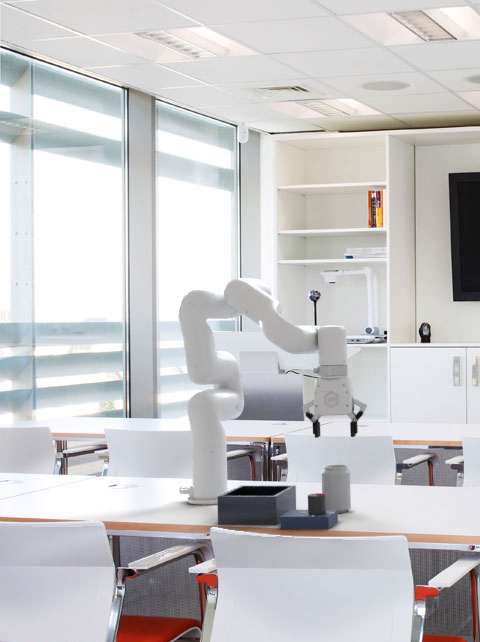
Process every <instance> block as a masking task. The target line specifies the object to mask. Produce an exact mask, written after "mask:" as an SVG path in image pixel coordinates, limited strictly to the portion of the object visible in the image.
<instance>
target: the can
mask: <svg viewBox="0 0 480 642" xmlns="http://www.w3.org/2000/svg"><path fill="white" fill-rule="evenodd" d="M348 467H349V466H348V465H346V464H330V465H325V466H323V468H324V469H323V470H322V471H321V493H326V510H338V514H341V513H346V512H348V511H349V510H350V509H351V508H352V506H351V505H352V503H351V501H352V500H351V470H349V469H348Z"/></svg>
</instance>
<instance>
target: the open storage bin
mask: <svg viewBox="0 0 480 642" xmlns="http://www.w3.org/2000/svg"><path fill="white" fill-rule="evenodd" d="M217 500H218V504H217V525H230V526H231V525H233V526H234V525H236V526H237V525H241V526H243V525H245V526H249V525H251V526H252V525H253V526H254V525H255V526H276V525H279V524H280V516H282V515H284V514H285V513H287V512H288V511H290V510H297V485H244V484H243V485H239V486H237V487H235V488H233V489H231V490H228V492H226V493H224V494H222V495H220V496H218V497H217Z"/></svg>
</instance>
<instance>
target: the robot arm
mask: <svg viewBox="0 0 480 642" xmlns="http://www.w3.org/2000/svg"><path fill="white" fill-rule="evenodd" d="M282 310H283V305H282V303H281V302H280V300H278V299H277V298H275V297H274V296H272V290H271V288H270V286H269V284H268V283H267V282H265V281H264V280H262V279H259V278H249V277H247V278H246V277H245V278H244V277H238V278H233V279H231V280H229V281H228V282H227V283H226V284H225V286H224V288H196V289H193V290H189V291H188V292H187V293H186V294H184V295H183V296H182V298H181V299H180V302H179V304H178V308H177V319H178V324H179V329H180V331H181V336H182V341H183V350H184V356H185V357H184V358H185V364H186V370H187V375H188V378H189V380H190V381H191V383H192V384H195V385H198V386H207V385H213V388H207V389H202V390H198V391H196V392H194V393H193V394H192V395H190V396H189V399H188V401H187V404H186V407H187V408H186V411H187V417H188V421H189V426H190V433H191V434H190V436H191V468H192V470H191V471H192V472H191V473H192V475H191V476H192V485H190V486H180V487H179V490H178V491H179V494H180V495H188V497H187V499H186V501H187V503H188V504H191V505H218V500H217V497H218V496H220V495H222V494H224V493H226V492H228V491H229V490H228V447H227V435H226V432H225V431H226V430H225V429H224V426H223V424H222V422H228V421H232V420H236V419H238V418H239V417H240V416H241V415H242V413H243V411H244V408H245V396H244V390H243V383H242V376H241V369H240V365H239V363H238V360H237V359H236V357H235V355H233V354H232V353H231V352H229V351H226V350H217V347H216V342H215V336H214V333H213V330H212V328H211V326H210V325H209V324H208V322H207V320H209V319H211V320H212V319H213V320H214V319H215V320H216V319H218V320H219V319H221V320H227V319H233V318H237V317H240V316H241V317H242V316H245V317H247V318H248V319H249V320H251V321H252V322H253V323H255V324H256V325H258V326H259V327H260V330H261V332H262V334H263V336H264V337H265V338H266V339H267V340H268V341H269V342H270V343H272V344H273V345H274V346H276V347H278V348H279V349H281V350H282V351H284V352H286V353H288V354H292V355H309V354H311V355H313V354H318V365H317V367H316V368H313V374H316V375H317V376H318V377H316V378H315V381H314V391H313V399H312V400H310V401H309V402H307V403H305V404H303V405H302V406H301V409H302V412H303V413H304V414H305V417H306V418H307V419H308V420H309V421H310V423H312V435H314V438H315V439H318V438H320V437H321V422H320V419H321V417H322V416H323V417H325V416H326V417H327V416H347V417H348V418H349V419H350V420H351V421H349V426H350V427H349V429H350V437H351V438H354V437H356V436H357V434H358V432H359V431H358V430H359V429H358V421H359V420H360V419H361V417H363V416H364V414H365V412H366V410H367V407H368V404H367V403H365V402H363V401H361V400H358V399H357V398H355V397H354V389H353V383H352V379H351V376H349V374H348V372H349V370H348V339H347V329H346V327H345V326H344V325H340V324H339V325H338V324H337V325H335V324H334V325H333V324H332V325H322V326H321V325H306V324H305V325H304V324H303V325H295V324H293V323H292V322H290V321H289V320H288V319H285V318H284V317H283V316H281V315H282ZM355 406H357V407H359V411H358V412H357V413H355ZM312 407H313V413H314V414H313V413H312V412H311V410H310V408H312Z"/></svg>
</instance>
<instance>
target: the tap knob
mask: <svg viewBox="0 0 480 642" xmlns="http://www.w3.org/2000/svg"><path fill="white" fill-rule="evenodd" d="M307 510H308V514H311V515H320V514H325V513H326V493H322V492H321V493H320V492H316V493H315V492H314V493H309V494H307Z"/></svg>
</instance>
